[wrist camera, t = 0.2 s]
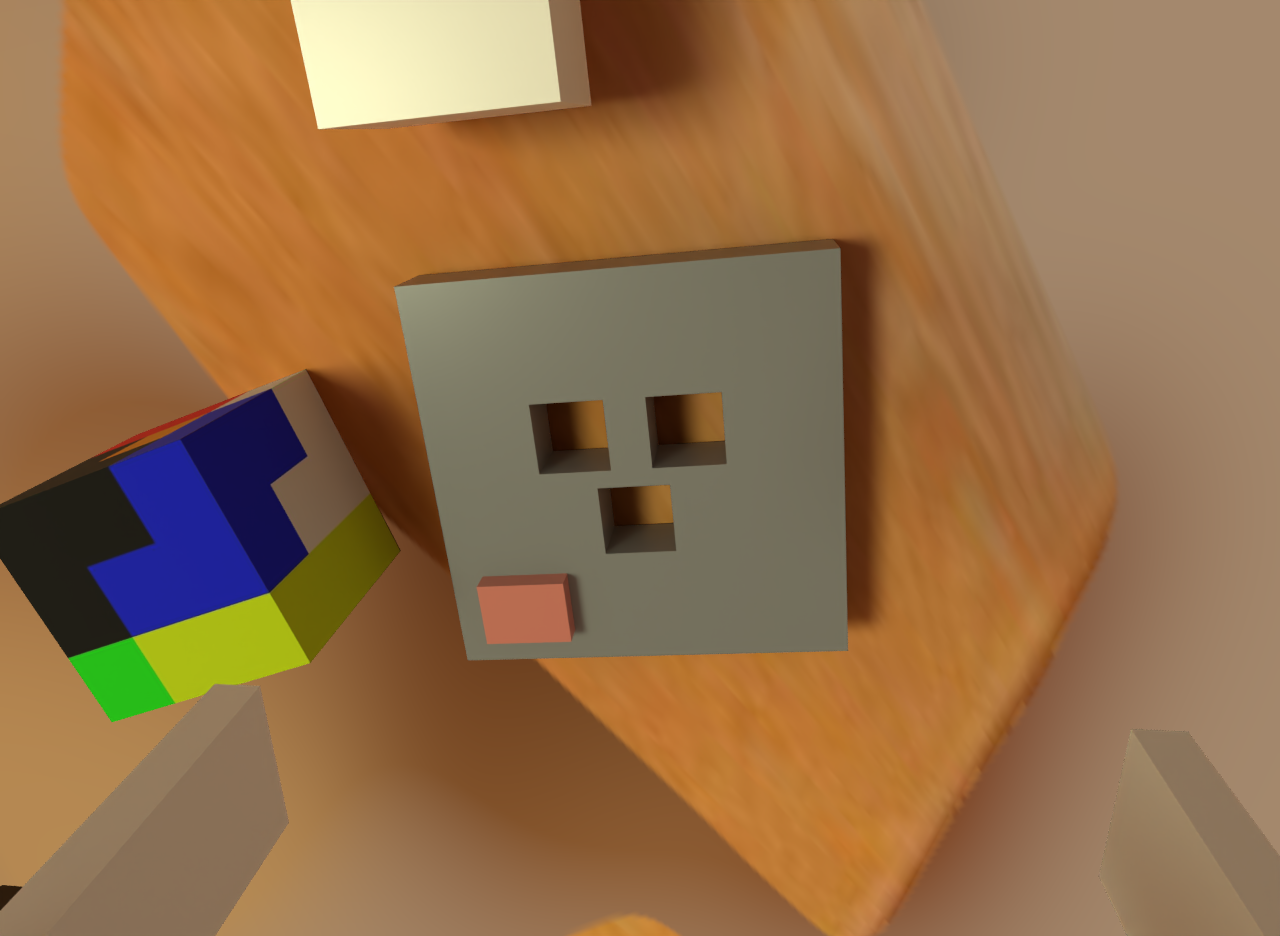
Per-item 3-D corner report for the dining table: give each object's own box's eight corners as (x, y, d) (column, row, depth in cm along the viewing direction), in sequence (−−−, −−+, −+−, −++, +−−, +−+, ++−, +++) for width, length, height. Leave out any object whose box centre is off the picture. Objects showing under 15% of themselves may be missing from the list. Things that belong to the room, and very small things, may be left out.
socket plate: (418, 275, 39) (384, 291, 35) (833, 238, 36) (843, 251, 33) (484, 627, 45) (461, 672, 41) (841, 616, 43) (850, 662, 39)
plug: (385, -34, 34) (272, -85, 26) (585, -62, 33) (533, -125, 25) (414, 128, 37) (318, 129, 28) (603, 107, 36) (560, 101, 27)
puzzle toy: (306, 368, 41) (180, 438, 32) (400, 550, 44) (310, 662, 35) (137, 434, 43) (-28, 518, 34) (237, 603, 46) (112, 722, 37)
